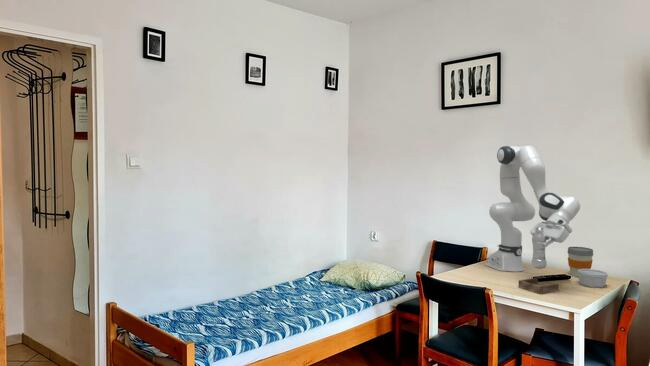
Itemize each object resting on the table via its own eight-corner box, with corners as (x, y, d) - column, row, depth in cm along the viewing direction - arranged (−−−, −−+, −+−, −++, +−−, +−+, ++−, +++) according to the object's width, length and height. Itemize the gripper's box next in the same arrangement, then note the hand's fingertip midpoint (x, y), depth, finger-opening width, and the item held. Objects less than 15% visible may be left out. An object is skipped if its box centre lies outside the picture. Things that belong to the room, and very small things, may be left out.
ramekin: (583, 280, 248) (583, 267, 248) (610, 285, 238) (611, 271, 238) (573, 284, 239) (573, 271, 239) (601, 290, 229) (602, 276, 229)
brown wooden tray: (518, 287, 233) (518, 280, 233) (536, 284, 239) (536, 277, 239) (540, 294, 222) (540, 287, 221) (559, 291, 227) (559, 284, 227)
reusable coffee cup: (577, 279, 250) (578, 251, 249) (561, 273, 262) (562, 246, 261) (598, 278, 252) (599, 250, 251) (581, 272, 264) (581, 246, 263)
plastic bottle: (547, 270, 225) (547, 229, 224) (531, 269, 227) (532, 228, 226) (545, 267, 231) (546, 227, 230) (530, 266, 233) (531, 226, 233)
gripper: (537, 217, 240) (521, 236, 238) (568, 222, 220) (550, 243, 218) (544, 225, 242) (528, 245, 239) (575, 231, 222) (557, 252, 220)
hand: (538, 244), depth 229 cm, fingers closed on plastic bottle, 6 cm apart
